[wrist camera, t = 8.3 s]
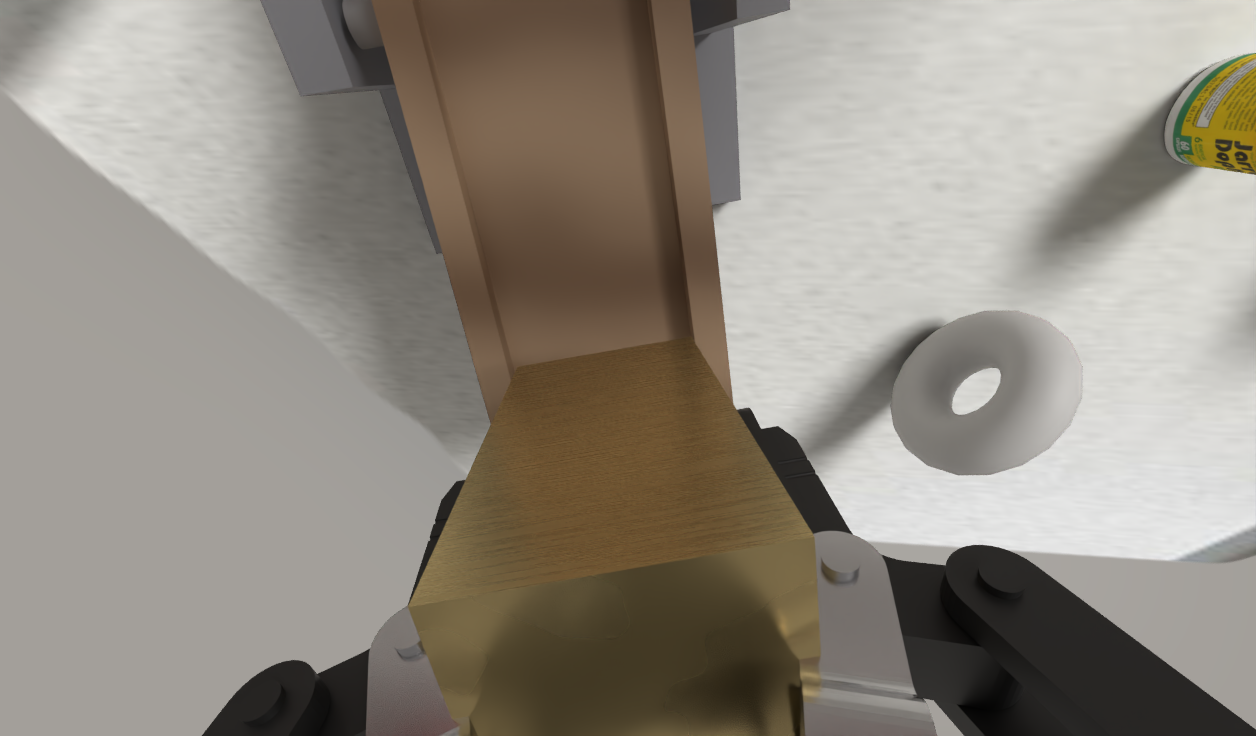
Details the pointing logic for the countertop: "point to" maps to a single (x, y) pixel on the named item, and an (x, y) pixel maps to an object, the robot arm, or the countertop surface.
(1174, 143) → the supplement bottle
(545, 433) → the rider
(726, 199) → the pivot stand
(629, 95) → the beam
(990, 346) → the donut
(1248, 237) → the countertop surface
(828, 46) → the countertop surface
